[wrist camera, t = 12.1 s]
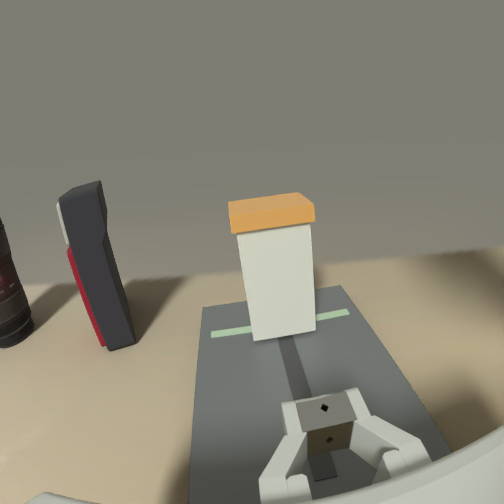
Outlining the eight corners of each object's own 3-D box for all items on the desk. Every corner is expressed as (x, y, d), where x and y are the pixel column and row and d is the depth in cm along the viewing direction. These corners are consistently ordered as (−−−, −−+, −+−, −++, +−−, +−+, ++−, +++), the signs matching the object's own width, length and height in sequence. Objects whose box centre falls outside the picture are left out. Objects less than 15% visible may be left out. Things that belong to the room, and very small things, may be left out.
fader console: (340, 295, 32) (340, 284, 31) (465, 497, 9) (474, 487, 9) (205, 317, 31) (202, 306, 31) (194, 564, 9) (186, 559, 8)
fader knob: (307, 303, 28) (298, 192, 25) (320, 331, 24) (313, 204, 20) (246, 313, 28) (228, 202, 25) (250, 343, 24) (229, 215, 20)
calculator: (100, 307, 36) (66, 189, 31) (131, 297, 37) (100, 179, 32) (102, 355, 26) (48, 201, 21) (142, 343, 28) (97, 186, 23)
